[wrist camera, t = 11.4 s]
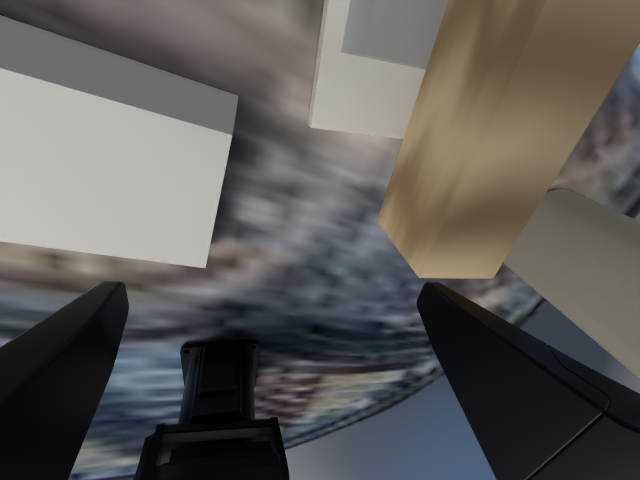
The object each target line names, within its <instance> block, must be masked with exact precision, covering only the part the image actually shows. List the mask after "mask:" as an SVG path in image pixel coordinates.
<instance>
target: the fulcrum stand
mask: <svg viewBox="0 0 640 480" xmlns="http://www.w3.org/2000/svg"><path fill="white" fill-rule="evenodd" d="M447 3H448V0H324V8H323V15H322V22H321V30H320V37H319V44H318V52H317V59H316V66H315V74H314V81H313V88H312V96H311V103H310V110H309V118H308V125H309V126H310V127H311V128H317V129H325V130H333V131H341V132H348V133H356V134H364V135H372V136H379V137H387V138H395V139H404V136H405V133H406V130H407V127H408V123H409V120H410V117H411V114H412V111H413V108H414V105H415V102H416V99H417V96H418V93H419V90H420V86H421V83H422V80H423V77H424V74H425V71H426V68H427V65H428V62H429V59H430V56H431V52H432V49H433V46H434V43H435V40H436V37H437V34H438V31H439V28H440V25H441V22H442V18H443V15H444V12H445V9H446V6H447Z"/></svg>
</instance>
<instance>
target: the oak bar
mask: <svg viewBox="0 0 640 480" xmlns="http://www.w3.org/2000/svg"><path fill="white" fill-rule="evenodd" d="M639 43H640V0H448V3H447V6H446V9H445V12H444V15H443V18H442V22H441V25H440V28H439V31H438V34H437V37H436V40H435V43H434V46H433V49H432V52H431V56H430V59H429V62H428V65H427V68H426V71H425V74H424V77H423V80H422V83H421V86H420V90H419V93H418V96H417V99H416V102H415V105H414V108H413V111H412V114H411V117H410V120H409V123H408V127H407V130H406V133H405V136H404V139H403V142H402V145H401V148H400V151H399V154H398V157H397V161H396V164H395V167H394V170H393V173H392V176H391V179H390V182H389V185H388V188H387V191H386V195H385V198H384V201H383V204H382V207H381V210H380V213H379V216H378V219H377V222H378V224H379V225H380V226H381V228H382V229H383V230H384V232H385V233H386V234H387V236H388V237H389V238H390V240H391V241H392V242H393V244H394V245H395V246H396V248H397V249H398V250H399V252H400V253H401V254H402V256H403V257H404V258H405V260H406V261H407V262H408V264H409V265H410V266H411V268H412V269H413V271H414V272H415V273H416V275H417V276H418V277H419V278H487V279H493V277H494V276H495V274H496V273H497V271H498V269H499V268H500V266H501V265H502V263H503V261H504V260H505V258H506V257H507V255H508V253H509V252H510V250H511V249H512V247H513V245H514V244H515V242H516V241H517V239H518V237H519V236H520V234H521V232H522V231H523V229H524V228H525V226H526V224H527V223H528V221H529V220H530V218H531V216H532V215H533V213H534V212H535V210H536V208H537V207H538V205H539V204H540V202H541V200H542V199H543V197H544V196H545V194H546V192H547V191H548V189H549V188H550V186H551V184H552V183H553V181H554V180H555V178H556V176H557V175H558V173H559V172H560V170H561V168H562V167H563V165H564V164H565V162H566V160H567V159H568V157H569V156H570V154H571V152H572V151H573V149H574V148H575V146H576V144H577V143H578V141H579V140H580V138H581V136H582V135H583V133H584V131H585V130H586V128H587V127H588V125H589V123H590V122H591V120H592V119H593V117H594V115H595V114H596V112H597V111H598V109H599V107H600V106H601V104H602V103H603V101H604V99H605V98H606V96H607V95H608V93H609V91H610V90H611V88H612V87H613V85H614V83H615V82H616V80H617V79H618V77H619V75H620V74H621V72H622V71H623V69H624V67H625V66H626V64H627V63H628V61H629V59H630V58H631V56H632V55H633V53H634V51H635V50H636V48H637V47H638V45H639Z"/></svg>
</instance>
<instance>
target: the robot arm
mask: <svg viewBox="0 0 640 480" xmlns="http://www.w3.org/2000/svg"><path fill="white" fill-rule="evenodd" d="M417 308H418V311H419V313H420V316H421V319H422V321H423V324H424V327H425V329H426V332H427V335H428V337H429V340H430V342H431V345H432V347H433V350H434V352H435V354H436V356H437V358H438V360H439V362H440V364H441V366H442V368H443V370H444V372H445V374H446V377H447V378H448V381H449V383H450V385H451V387H452V389H453V391H454V393H455V395H456V397H457V399H458V401H459V403H460V405H461V407H462V409H463V411H464V413H465V416H466V418H467V420H468V422H469V424H470V426H471V428H472V430H473V432H474V434H475V436H476V438H477V440H478V442H479V444H480V446H481V448H482V451H483V453H484V455H485V457H486V459H487V461H488V463H489V465H490V467H491V469H492V471H493V473H494V475H495V477H496V479H497V480H640V394H639V393H637V392H635V391H633V390H631V389H630V388H628V387H626V386H624V385H621V384H620V383H618V382H616V381H614V380H612V379H610V378H608V377H606V376H604V375H603V374H601V373H598V372H597V371H595V370H593V369H591V368H589V367H587V366H586V365H584V364H581V363H580V362H578V361H576V360H574V359H573V358H571V357H569V356H567V355H565V354H563V353H562V352H560V351H558V350H557V349H555V348H553V347H551V346H550V345H547V344H546V343H544V342H542V341H541V340H539V339H537V338H536V337H534V336H532V335H530V334H528V333H526V332H525V331H523V330H521V329H520V328H518V327H516V326H514V325H513V324H511V323H509V322H507V321H506V320H504V319H502V318H500V317H499V316H497V315H495V314H493V313H492V312H490V311H488V310H486V309H485V308H483V307H481V306H479V305H478V304H476V303H474V302H472V301H471V300H469V299H467V298H465V297H463V296H462V295H460V294H458V293H456V292H455V291H453V290H451V289H449V288H448V287H446V286H444V285H442V284H441V283H439V282H426V283H425V284H424V285H423V288H422V290H421V292H420V294H419V296H418V299H417ZM128 311H129V303H128V298H127V292H126V287H125V284H124V282H123V281H120V280H107V281H103V282H101V283H100V284H98V285H97V286H95V287H93V288H92V289H90V290H89V291H87V292H86V293H84V294H83V295H81V296H79V297H78V298H76V299H75V300H73V301H72V302H70V303H69V304H67V305H65V306H64V307H62V308H61V309H59V310H58V311H56V312H54V313H53V314H51V315H50V316H48V317H47V318H45V319H44V320H42V321H40V322H39V323H37V324H36V325H34V326H33V327H31V328H29V329H28V330H26V331H25V332H23V333H22V334H20V335H19V336H17V337H15V338H14V339H12V340H11V341H9V342H8V343H6V344H5V345H3V346H1V347H0V480H68V478H69V475H70V473H71V470H72V468H73V466H74V463H75V461H76V458H77V456H78V453H79V451H80V448H81V446H82V444H83V441H84V439H85V436H86V434H87V431H88V429H89V426H90V424H91V422H92V419H93V417H94V414H95V412H96V409H97V407H98V404H99V402H100V399H101V397H102V395H103V392H104V390H105V387H106V385H107V382H108V380H109V377H110V375H111V372H112V369H113V366H114V363H115V360H116V356H117V352H118V349H119V345H120V341H121V338H122V334H123V330H124V327H125V323H126V319H127V316H128ZM180 355H181V363H182V371H183V379H184V387H185V388H184V394H183V399H182V405H181V411H180V417H179V423H178V424H170V425H165V424H166V423H162V424H157V427H156V431H155V433H153V435H151V436H149V437H147V438H145V441H144V445H143V449H142V453H141V457H140V461H139V464H138V468H137V471H136V474H135V477H134V480H289V471H288V465H287V460H286V455H285V450H284V446H283V441H282V437H281V432H280V427H279V423H278V418H277V417H270V419H257V420H255V408H254V385H255V384H256V378H257V367H258V356H259V342H258V341H257V340H244V341H229V342H213V343H197V344H185V345H183V346H182V347H181V351H180ZM161 464H162V465H161Z"/></svg>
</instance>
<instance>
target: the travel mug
mask: <svg viewBox="0 0 640 480" xmlns="http://www.w3.org/2000/svg"><path fill="white" fill-rule="evenodd" d="M503 263H504V264H505V265H506V266H508V267H509V268H510V269H511V270H512V271H513V272H515V273H516V274H517V275H518V276H519V277H521V278H522V279H523V280H524V281H525V282H526V283H528V284H529V285H530V286H531V287H532V288H534V289H535V290H536V291H537V292H538V293H539V294H541V295H542V296H543V297H544V298H545V299H547V300H548V301H549V302H550V303H551V304H552V305H554V306H555V307H556V308H557V309H559V310H560V311H561V312H562V313H563V314H564V315H565V316H567V317H568V318H569V319H570V320H572V321H573V322H574V323H575V324H576V325H577V326H578V327H580V328H581V329H582V330H583V331H584V332H586V333H587V334H588V335H589V336H590V337H591V338H593V339H594V340H595V341H596V342H597V343H598V344H600V345H601V346H602V347H603V348H604V349H606V350H607V351H608V352H609V353H611V355H613V356H614V357H615V358H616V359H617V360H619V361H620V362H621V363H622V364H624V366H626V367H627V368H628V369H629V370H630V371H632V372H633V373H634V374H635V375H636V376H638V377H639V378H640V222H639V221H637V220H635V219H633V218H631V217H628V216H626V215H624V214H622V213H620V212H617V211H615V210H613V209H611V208H609V207H606V206H604V205H602V204H600V203H597V202H595V201H593V200H591V199H589V198H586V197H584V196H582V195H580V194H577V193H575V192H573V191H571V190H567V189H557V190H552V191H549V192H546V194H545V196H544V197H543V199H542V200H541V202H540V204H539V205H538V207H537V208H536V210H535V212H534V213H533V215H532V216H531V218H530V220H529V221H528V223H527V224H526V226H525V228H524V229H523V231H522V232H521V234H520V236H519V237H518V239H517V241H516V242H515V244H514V245H513V247H512V249H511V250H510V252H509V253H508V255H507V257H506V258H505V260H504V261H503Z"/></svg>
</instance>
